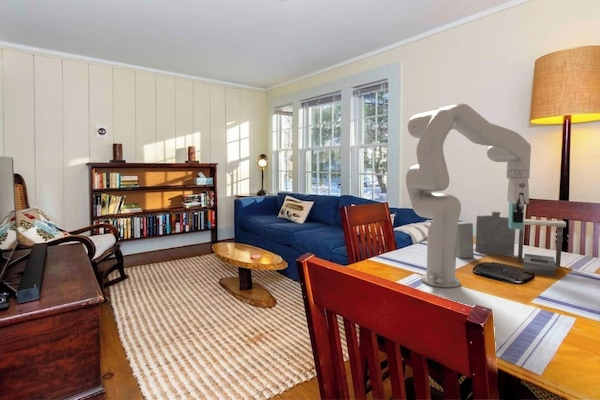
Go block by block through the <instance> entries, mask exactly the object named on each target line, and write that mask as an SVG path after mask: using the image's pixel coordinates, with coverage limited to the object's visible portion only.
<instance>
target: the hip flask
mask: <svg viewBox="0 0 600 400" xmlns="http://www.w3.org/2000/svg"><path fill="white" fill-rule="evenodd" d="M500 215H501V211H491V215H489V214H488V215H476V222H475V223H476V226H475V227H476V229H475V249H474V250H475V251H474V252H475V253H479V254H486V255H487V254H488V255H495V256H506V257H507V256H509V257H514V256H515V244H516V243H515V242H516V240H515V239H516V229H510V228H509V227H508V220H509V216H500Z"/></svg>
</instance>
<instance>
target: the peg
mask: <svg viewBox="0 0 600 400" xmlns="http://www.w3.org/2000/svg"><path fill="white" fill-rule="evenodd" d="M516 204H519V203H516ZM517 207H518V206H517ZM513 212H514V204H513V203H510V202H508V217H509V220H508V227H509V228H510V229H515V230H519V229H523V222H522V223H514V222H513ZM523 219H525V207H524V208H523Z"/></svg>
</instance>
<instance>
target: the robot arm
mask: <svg viewBox="0 0 600 400" xmlns="http://www.w3.org/2000/svg"><path fill="white" fill-rule="evenodd" d="M451 130H455V131H457V132H458V133H459V134H460V135H462V136H463V137H465V138H466V139H468V140H469V142H471V143H473V144H477V145H481V146H488V148H487V150H486V155H487V158H488V159H489V160H490V161H492V162H496V163H506V179H508V183H507V195H506V196H507V197H506V198H507V200H506V201H507V202H508V203H509V202H510V203H513V204H514V212H513V222H514V223H522V222H523V208H524V209H525V205H529V203H530V190H529V189H530V188H529V185H530V184H529V179H530V173H531V172H530V170H531V152H532V145H531V144H530V143H529V142H528V141H527V140H526V139H525V137H523V136H522V135H521V134H519V133H518V132H516V131H514V130H512V129H510V128H506V127H504V126H501V125H498V124H493V123H491V122H490V121H488V120H487V119H486V118H485V117H483V116H482V115H481V114H480V113H478V112H477V111H476V110H475V109H474V108H472V107H471V106H470V105H469V104H466V103H456V104H452V105H447V106H442V107H440V108H436V109H433V110H430V111H425V112H422V113H418V114H415V115H413V116H412V117H411V118H410V119H409V121H408V123H407V131H408V133H409V135H411V136H412V137H413V138H415V139H419V140H418V143H417V145H416V150H415V151H416V152H415V153H416V159H417V164H415V165H413V166H410V168H409V169H407V172H406V174H405V175H406V176H405V185H406V190H407V192H408V195H409V200H410V203H411V207H412V209H413V211H414V213H415V214H416V215H417V216H418V217H420V218H425V219H431V220H432V221H431V223H430V224H429V227H428V230H427V235H426V236H427V237H426V238H427V239H426V246H427V247H426V274H423V275H422V276H421V280H422V282H423V283H425V284H427V285H429V286H431V287H437V288H444V289H446V288H449V289H450V288H456V287H459V286H460V285H461V280H460V279H459V278H458V277H456V269H457V268H456V267H457V256H456V244H457V226H458V222H459V219H460V216H461V212H462V204H461V201H460V200H459V199H458V198H457V196H455V195H453V194H450V193H442V192H443V191H445V190H446V189H448V187H449V185H450V176H449V171H448V166H447V163H446V158H445V154H444V143H445V140H446V138H447V136H448V134H449V133H450V131H451ZM440 192H441V193H440ZM516 203H519V204H516ZM517 206H518V207H517Z"/></svg>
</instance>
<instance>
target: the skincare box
mask: <svg viewBox="0 0 600 400" xmlns="http://www.w3.org/2000/svg"><path fill="white" fill-rule="evenodd" d="M473 225H474V224H473V223H472V222H468V221H465V220H464V221H463V220H462V221H458V226H457V244H456V258H460V259H464V258H465V259H474V258H475V257H474V232H473V231H474V227H473Z"/></svg>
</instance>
